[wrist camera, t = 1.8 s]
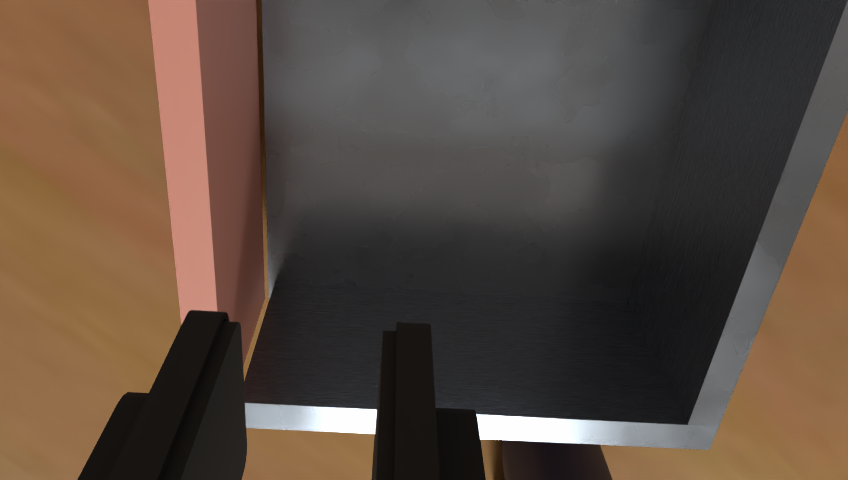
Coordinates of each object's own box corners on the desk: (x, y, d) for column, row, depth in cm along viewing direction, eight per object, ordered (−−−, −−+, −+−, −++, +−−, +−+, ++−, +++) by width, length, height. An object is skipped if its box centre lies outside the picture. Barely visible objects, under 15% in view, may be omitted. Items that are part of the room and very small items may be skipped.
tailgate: (248, -277, 21) (171, -344, 14) (264, 298, 32) (225, 422, 25) (209, -282, 21) (112, -352, 14) (238, 296, 32) (191, 420, 25)
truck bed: (767, -211, 25) (997, -256, 15) (626, 290, 36) (709, 449, 26) (271, -268, 24) (180, -355, 14) (279, 268, 34) (230, 427, 25)
